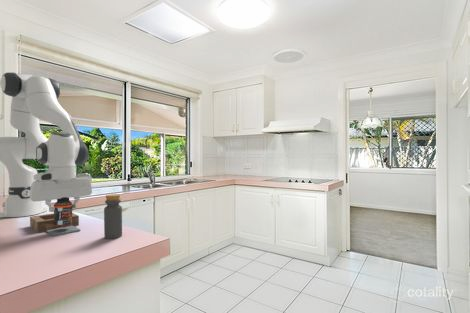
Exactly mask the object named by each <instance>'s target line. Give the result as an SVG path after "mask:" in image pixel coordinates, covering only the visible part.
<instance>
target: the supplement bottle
mask: <svg viewBox="0 0 470 313" xmlns="http://www.w3.org/2000/svg"><path fill="white" fill-rule="evenodd" d="M72 204H73V202H72V201H70V198H67V197H62V198H61V199H56V202H55V203H54V205H53V206H54V207H55V211H54V212H53V213H54V226H55V227H67V226H70V225H72V219H73V218H72V213H73V209H72Z"/></svg>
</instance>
